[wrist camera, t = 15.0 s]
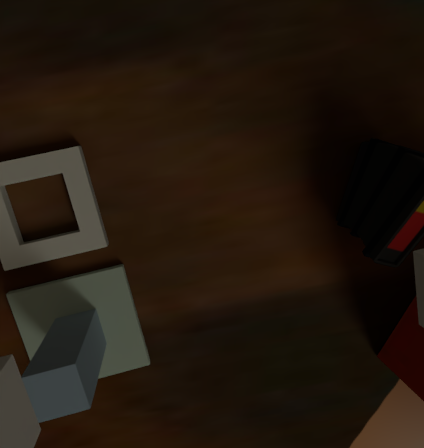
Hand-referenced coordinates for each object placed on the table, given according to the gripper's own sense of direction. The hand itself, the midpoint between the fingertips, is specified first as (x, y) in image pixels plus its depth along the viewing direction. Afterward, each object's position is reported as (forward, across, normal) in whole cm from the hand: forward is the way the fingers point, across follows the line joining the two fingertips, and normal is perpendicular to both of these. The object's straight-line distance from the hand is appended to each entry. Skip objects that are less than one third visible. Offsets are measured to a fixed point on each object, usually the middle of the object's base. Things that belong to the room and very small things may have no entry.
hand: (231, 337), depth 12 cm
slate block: (+34, -15, -14) cm, 40 cm away
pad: (+35, -15, -14) cm, 40 cm away
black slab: (+35, +23, -5) cm, 42 cm away
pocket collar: (+35, -16, +2) cm, 38 cm away
